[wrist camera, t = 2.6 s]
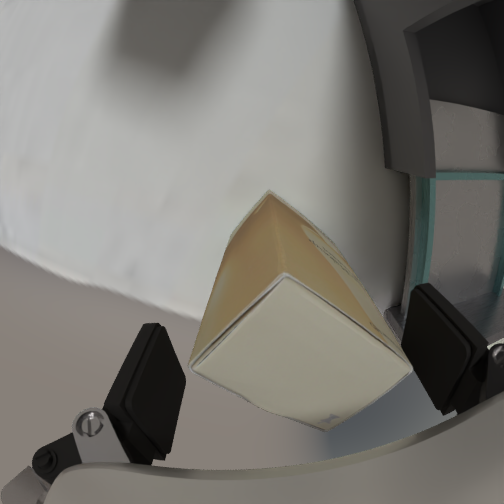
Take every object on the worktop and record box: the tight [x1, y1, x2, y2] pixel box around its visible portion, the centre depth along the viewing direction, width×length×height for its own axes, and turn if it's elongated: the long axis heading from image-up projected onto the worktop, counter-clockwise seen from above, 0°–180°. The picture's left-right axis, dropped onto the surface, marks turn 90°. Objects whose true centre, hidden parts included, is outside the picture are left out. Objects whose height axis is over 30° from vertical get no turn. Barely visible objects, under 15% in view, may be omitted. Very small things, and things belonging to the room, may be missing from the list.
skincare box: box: [188, 190, 413, 432], centre depth 13 cm, size 6×4×12 cm
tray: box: [386, 100, 504, 345], centre depth 14 cm, size 14×17×7 cm
